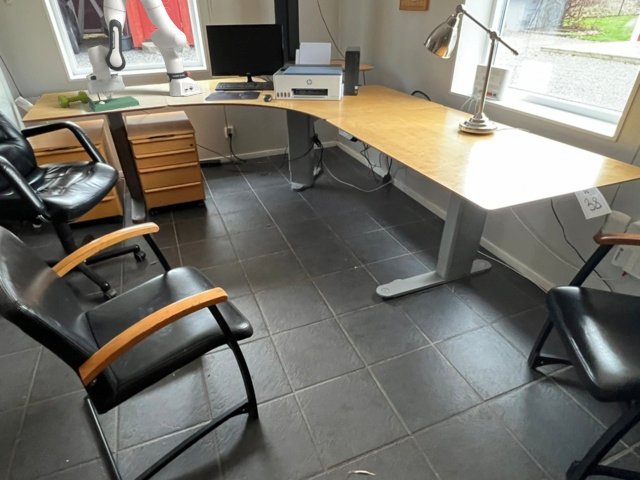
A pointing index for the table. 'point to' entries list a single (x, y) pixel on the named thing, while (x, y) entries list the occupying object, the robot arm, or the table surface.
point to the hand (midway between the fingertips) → (110, 99)
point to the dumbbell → (72, 99)
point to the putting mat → (112, 103)
